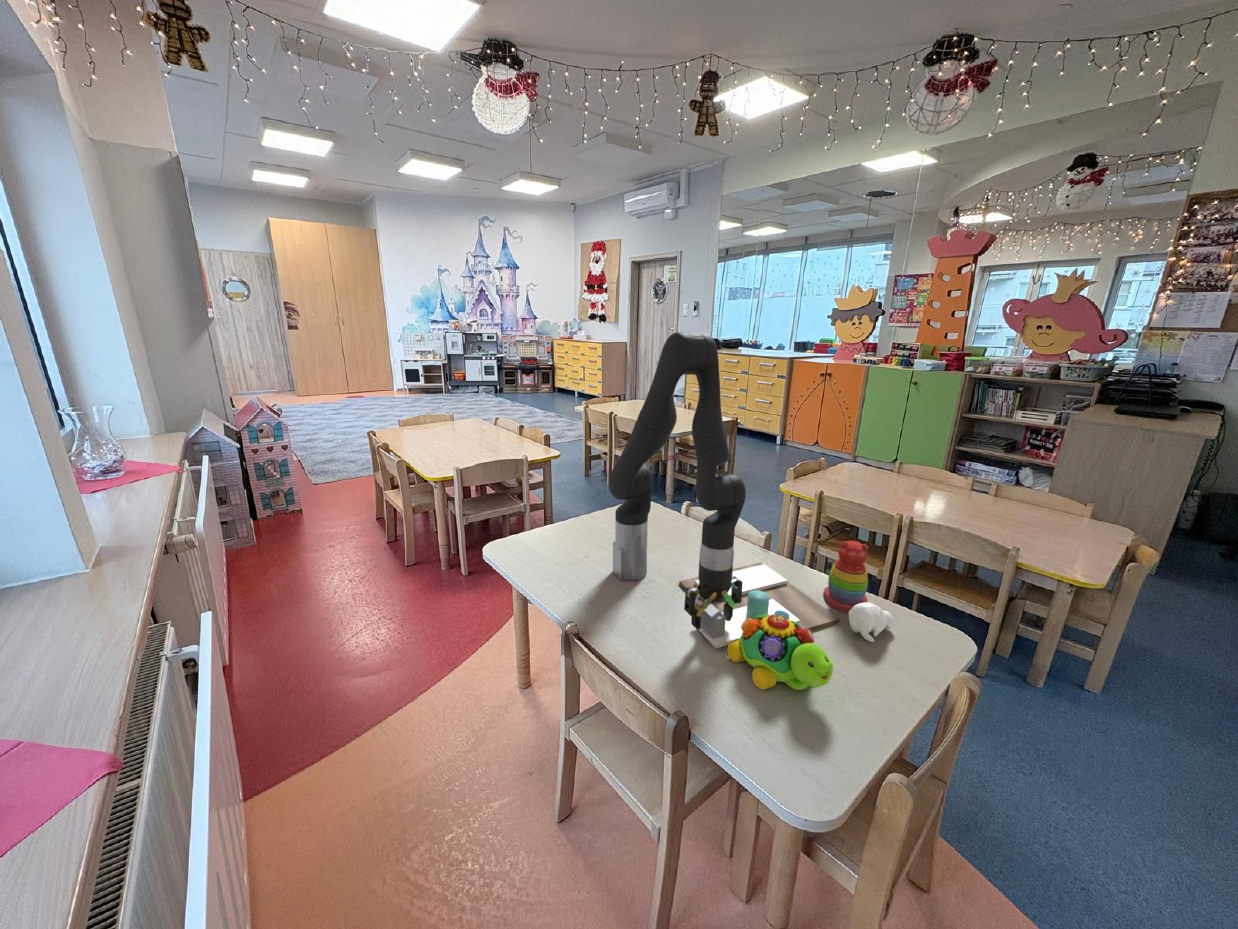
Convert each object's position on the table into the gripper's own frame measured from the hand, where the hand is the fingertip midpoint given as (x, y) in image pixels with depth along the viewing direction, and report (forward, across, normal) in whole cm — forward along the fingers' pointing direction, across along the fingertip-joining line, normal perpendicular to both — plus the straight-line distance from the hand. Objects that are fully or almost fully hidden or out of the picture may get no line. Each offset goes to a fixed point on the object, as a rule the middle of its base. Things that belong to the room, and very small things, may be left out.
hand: (711, 623), depth 117 cm
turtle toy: (+4, +8, -16) cm, 18 cm away
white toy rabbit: (+4, +37, -13) cm, 39 cm away
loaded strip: (+3, +10, 0) cm, 10 cm away
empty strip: (+3, +20, +16) cm, 26 cm away
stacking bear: (+4, +41, -1) cm, 41 cm away
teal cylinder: (+2, +13, 0) cm, 13 cm away
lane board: (+4, +19, +8) cm, 21 cm away
